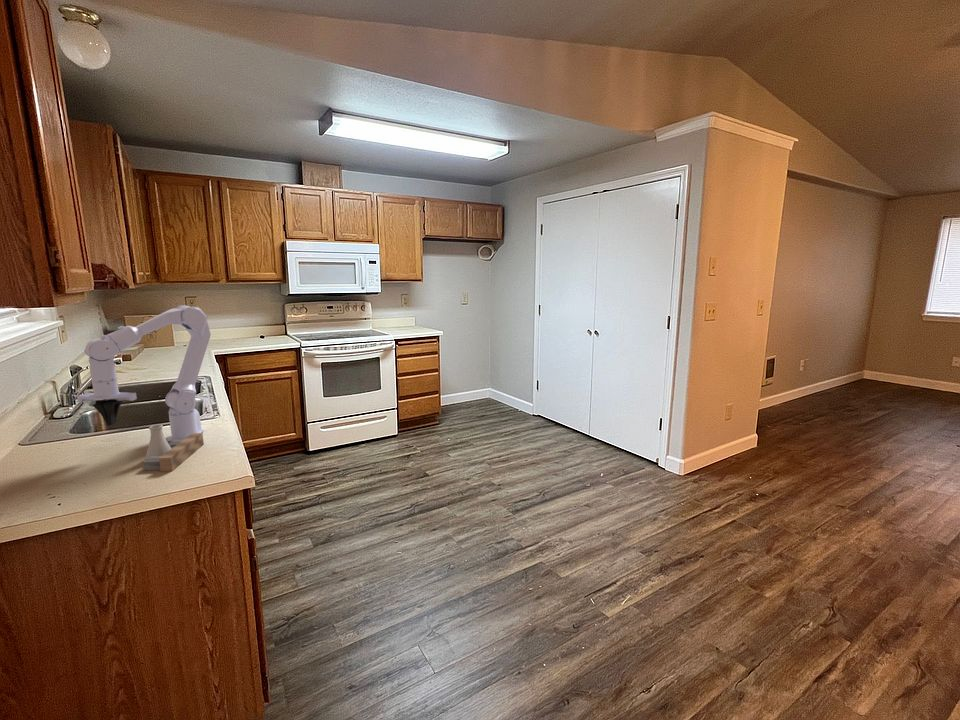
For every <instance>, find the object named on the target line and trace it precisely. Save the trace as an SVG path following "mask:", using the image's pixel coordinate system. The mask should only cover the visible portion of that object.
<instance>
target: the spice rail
mask: <svg viewBox="0 0 960 720" xmlns="http://www.w3.org/2000/svg"><path fill="white" fill-rule="evenodd" d="M203 433H204V432H202V433H192V434H190V435H189V436H188V437H186V438H185V439H184V440H173V441H169V442H168V444H169V445H170V447H171V448H172V449H170V450H169V451H168V452H166V453H165V454H164V455H162V456H150V457H149V458H148V459H146V460H145V461H144V460H143V461H142V466H143V467H142V468H143V471H144V472H145V471H160V472H163V473H164V472H173V471H175V470H176V469H177V468H178V467H179V466H180V465H182V464H183V463H184V462H185V461H186V460H188V459H189V458H190V457H191V456H192V455H193V454H195V453H196V452H197V451H198V450H199V449H200V448H202V447H203V445H204V444H205V443H204V435H203Z"/></svg>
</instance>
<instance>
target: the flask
mask: <svg viewBox="0 0 960 720" xmlns="http://www.w3.org/2000/svg"><path fill="white" fill-rule="evenodd" d="M163 428H164V426H163V424H153V425H150V426H148V430H150V439H149V442H148V446H147V451H146V454H145V455H144V456H145V457H144V459H143V462H144V461H145V460H146V459H148V458H149V457H150V456H162V455H164V454H165V453H166V452H168V451H169V450H170V449H172V448H171V447H170V445H169V441H166V440H167V439H166V437H165V435H164V432H163Z"/></svg>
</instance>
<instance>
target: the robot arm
mask: <svg viewBox="0 0 960 720" xmlns="http://www.w3.org/2000/svg"><path fill="white" fill-rule="evenodd" d="M168 325H181V326H182V327H184V328H185V330H186V331H187V332H188V333H189V335H190V340H189V343H188V345H187V348H186V353H185V354H184V358H183V361H182V363H181V368H180V370H179V374H178V377H177V380H176V381H175V383H174V384H173V385H172V387H171V389H170V391H169V392H168V393H166V395H165V399H164V402H165V404H166V405H167V407H169V409H168V418H169V427H170V434H171V436H170V437H168V438H167V439H166V441H167V442H171V441H173V440H184V439H185V438H186V437H188V436H189V435H190V434H192V433H204V432H205V429H202V426H201V415H200V412H199V411H198V409H196V408H195V407H196V405H197V401H196V395H197V390H196V382H197V380H198V377H199V373H200V370H201V366H202V364H203V360H204V357H205V354H206V350H207V349H208V345H209V342H210V339H211V330H210V327H209V324H208V316H207V315H206V313H205V312H204V311H203V310H202V309H201V308H200V307H198V306H189V305H184V304H181V305H178V306H177V307H174V308H170V309H168V310H166V311H164V312H162V313H160V314H157V315H156V316H154V317H152V318H150V319H147V320H146V321H144V322H142V323H140V324H138V325H136V326H131V325H126V326H124V325H121V326H118V327H117V330H115V331H113V332H110V333H108V334H102V335H100V338H97V339H96V338H95V339H92V340H90V341H89V342H87V343H86V345H85V348H84V353H85V354H86V356H88V363H89V373H90V379H91V384H92V390H93V391H92V392H93V393H87V394H79V395H77V396H76V398H77V403H86V402H87V403H89V402H90V403H91V402H95V403H94V404H92V405H93V407H94V409H95V410H96V411H98V413H99V414H100V415H101V417H102V419H103V420H104V422H105V424H106V426H112V425H114V424H117V416H118V413H119V412H118V411H119V409H120V407H121V404H122V403H123V401H129V402H130V401H135V400H137V399H138V398H137V393H136V392H125V391H124V392H122V391H121V392H120V390H119V383H118V378H117V369H116V365H115V362H114V360H115V359H114V357H115V355H116V353H120V352H123V351H124V350H126V349H128V348H130V347H132V346H134V345H137V344H139V343H140V342H141V340H142V338H143V336H145V335H149V334H150V333H153V332H154V331H157V330H159V329H162V328H164V327H166V326H168Z"/></svg>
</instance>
